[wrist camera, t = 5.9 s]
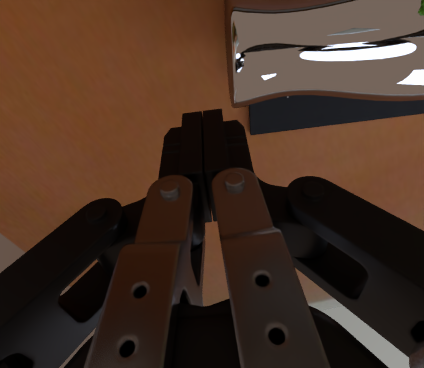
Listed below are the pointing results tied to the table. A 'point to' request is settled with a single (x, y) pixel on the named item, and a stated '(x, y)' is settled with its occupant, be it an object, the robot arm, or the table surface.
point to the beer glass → (324, 49)
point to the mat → (323, 112)
